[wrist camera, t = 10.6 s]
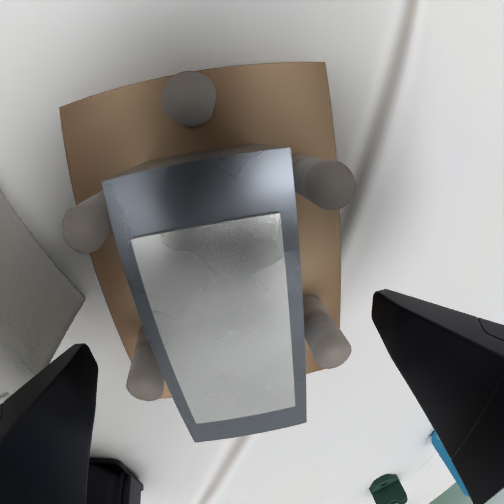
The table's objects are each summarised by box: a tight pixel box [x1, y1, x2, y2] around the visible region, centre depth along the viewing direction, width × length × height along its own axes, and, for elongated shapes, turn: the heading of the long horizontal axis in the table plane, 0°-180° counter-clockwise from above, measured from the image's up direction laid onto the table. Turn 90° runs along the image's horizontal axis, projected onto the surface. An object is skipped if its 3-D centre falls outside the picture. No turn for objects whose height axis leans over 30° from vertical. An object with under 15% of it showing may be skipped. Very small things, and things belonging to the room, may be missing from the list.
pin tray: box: [59, 62, 355, 401], centre depth 13 cm, size 12×17×5 cm
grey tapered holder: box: [101, 143, 306, 442], centre depth 11 cm, size 4×10×6 cm, turn 7°
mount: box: [369, 474, 407, 504], centre depth 30 cm, size 11×4×5 cm, turn 27°
